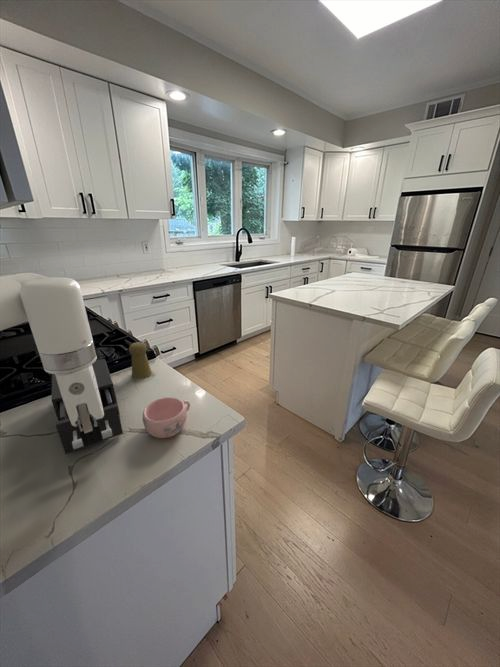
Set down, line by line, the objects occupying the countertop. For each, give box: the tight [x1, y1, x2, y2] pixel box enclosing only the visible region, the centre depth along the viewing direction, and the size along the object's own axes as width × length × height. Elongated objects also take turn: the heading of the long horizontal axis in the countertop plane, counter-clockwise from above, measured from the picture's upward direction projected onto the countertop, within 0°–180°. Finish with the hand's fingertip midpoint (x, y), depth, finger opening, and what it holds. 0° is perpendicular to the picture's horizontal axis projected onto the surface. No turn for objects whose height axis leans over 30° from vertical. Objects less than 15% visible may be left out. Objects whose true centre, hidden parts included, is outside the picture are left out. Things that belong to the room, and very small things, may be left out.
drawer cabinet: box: [51, 358, 120, 421], centre depth 73 cm, size 16×13×10 cm
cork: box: [128, 341, 152, 380], centre depth 88 cm, size 6×6×11 cm
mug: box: [142, 396, 191, 439], centre depth 67 cm, size 12×10×6 cm
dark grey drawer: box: [55, 388, 124, 455], centre depth 63 cm, size 20×11×8 cm, turn 33°
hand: (93, 441), depth 52 cm, fingers closed
